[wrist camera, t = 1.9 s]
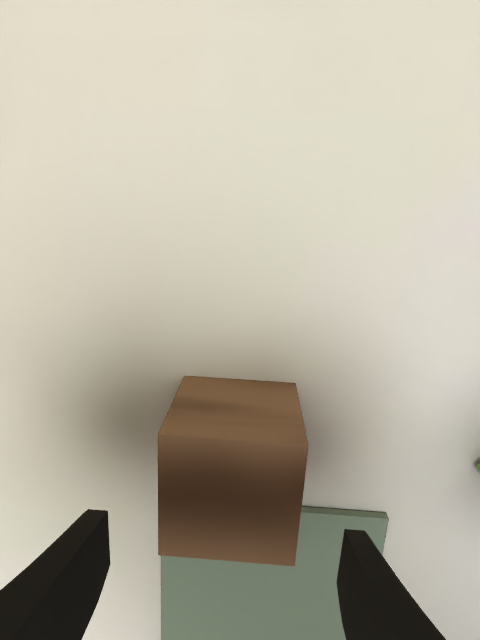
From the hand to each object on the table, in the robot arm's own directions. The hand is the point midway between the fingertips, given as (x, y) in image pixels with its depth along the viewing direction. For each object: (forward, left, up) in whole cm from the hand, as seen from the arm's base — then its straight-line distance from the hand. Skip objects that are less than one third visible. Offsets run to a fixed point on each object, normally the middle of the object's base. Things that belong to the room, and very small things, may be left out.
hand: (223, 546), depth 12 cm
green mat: (-10, -2, -7) cm, 12 cm away
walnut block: (0, 0, -7) cm, 7 cm away
